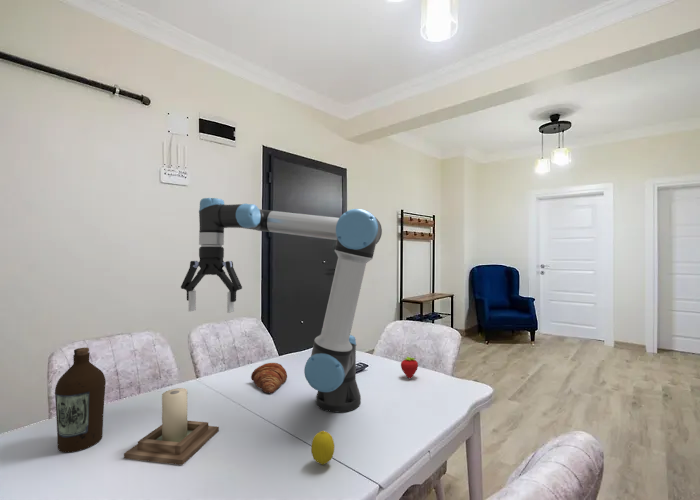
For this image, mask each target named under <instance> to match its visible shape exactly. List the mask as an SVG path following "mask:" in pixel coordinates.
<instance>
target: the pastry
mask: <svg viewBox="0 0 700 500" xmlns="http://www.w3.org/2000/svg"><path fill="white" fill-rule="evenodd" d="M250 375H251V376H250V378H251V380H252V381H253V382H254V384H255V386H256V387H257V388H259V389H260V390H262V392H263V393H266V394H271V395H272V394H274V393H276V391H277V390H279V389H280V387H281V386H282V385H284V384H285V383H286V381H287V380H288V379H287V378H288V374H287V371H286V368H284V367H283V365H282V364H280V363H278V362H267V363H264V364H262V365H259V366H258V367H256V368H255V369H254V370H253V371H252V372H251V374H250Z"/></svg>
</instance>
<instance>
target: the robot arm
mask: <svg viewBox="0 0 700 500" xmlns="http://www.w3.org/2000/svg"><path fill="white" fill-rule="evenodd" d="M198 213H199V214H198V216H199V217H198V220H199V233H198V245H199V248H198V257H199V261H198V260H191V261H190V262H189V268H188V271H187V272H186V274H185V277H184V279H183V281H182V283H181V286H180V289H182V290H185V291H186V301H188V312H193V311H196V309H197V304H196V303H197V301H196V300H197V294H196V293H197V290H195V288H196V287H197V286H198V285H199V283H200V282H201V280H202V279H203V278H204V277H205V276H209V275H210V276H217V277H219V279H220V281H222V283H223V284H224V286H225V287H226V288H227V289H228V290H229V291H227V292H226V293H227V295H226V297H227V299H226V300H227V302H226V304H227V307H226V308H227V311H226V312H227V313H228V314H230V313H233V312H235V310H234V309H235V308H234V306H235V302H236V301H237V291H239V290H242V289H243V286H242V283H241V282H240V279H239V277H238V274H237V272H236V270H235V268H234V262H233V260H227V261H224V258H225V248H224V243H225V241H224V240H225V229H229V228H230V229H232V228H233V229H246V230H251V231H252V230H253V231H259V232H268V233H269V232H271V233H278V234H283V235H284V234H285V235H286V234H288V235H294V236H302V237H311V238H317V239H325V240H326V239H327V240H334V241H336V242H335V246H334V253H335V254H336V256H337V260H336V265H335V269H334V275H333V279H332V283H331V287H330V294H329V297H328V302H327V306H326V310H325V315H324V319H323V324H322V328H321V332H320V334H319V335H317V336H316V337H315V338H314V341H313V344H312V345H313V346H312V350H311V353H310V354H311V355H310V357H308V359H307V360H306V363H305V365H304V370H303V371H304V377H305V380H306V382H307V383H308V385H309V386H310V387H311V388H312V389H314V390H316V391H317V392H316V395H315V404H316V406H317V407H318V408H319V409H320V410H323V411H326V412H331V413H346V412H350V411H353V410H355V409H358V407H360V405H361V402H362V398H361V392H360V390H359V386H358V383H357V378H356V377H357V375H356V371H357V369H356V368H357V367H356V364H357V361H356V359H357V358H356V357H357V355H356V353H357V342H356V340H357V339H356V337H355V336H354V335H352V334H351V333H352V328H353V324H354V318H355V314H356V310H357V306H358V301H359V297H360V294H361V293H360V292H361V289H362V283H363V279H364V274H365V271H366V266H367V264H368V263H369V262H370V261H372V260H373V257H374V254H375V250H376V247H377V244H378V243H379V242H380V240H381V238H382V234H383V229H382V224H381V223H380V221H379V220H378V218H377V217H376V216H375V215H374V214H373V213H371V212H370V211H369V210H365V209H363V208H352V209H348V210H347V211H345V212H343V213H342V215H340V217H334V216H325V215H316V214H315V215H314V214H305V213H298V212H297V213H295V212H293V213H292V212H288V211H286V212H285V211H277V210H268V209H260V208H258V205H256V204H254V203H242V204H241V203H239V204H236V203H235V204H225V201H224V200H223V199H222V198H217V197H216V198H215V197H204V198H202V199H201V200H200V201H199V209H198ZM198 268H199V270H198ZM223 268H225V269H226V271H225V270H224V269H223ZM197 270H198V271H197ZM226 272H227V273H226ZM195 274H196V275H195ZM227 274H228V275H227Z"/></svg>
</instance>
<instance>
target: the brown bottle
mask: <svg viewBox="0 0 700 500" xmlns="http://www.w3.org/2000/svg"><path fill="white" fill-rule="evenodd" d="M73 353H74V354H73V359H72V360H73V361H72V362H73V364H72V365H71V366H70V367H69V368H68V369H67V370H66V371H65V372H64V373H63V374H62V375H61V376H60V378H59V379H58V380H57V382H56V385H55V387H54V389H55V390H54V397H55V412H56V413H55V415H56V433H57V436H56V439H57V440H56V441H57V445H56V446H57V450H58V451H59V452H61V453H66V454H67V453H75V452H79V451H83V450H86V449H88V448H91V447H93V446H95V445H96V444H98V443H99V442H100V441H101V440H102V439H103V431H104V429H103V428H104V411H105V406H104V405H105V398H106V397H105V396H106V395H105V394H106V382H107V381H106V376H105V375H104V372H103V371H102V370H101V369H100V368H99V367H97V366H95V365H94V364H93V363H91V362H90V348H89V347H79V348H75V349H74V350H73Z"/></svg>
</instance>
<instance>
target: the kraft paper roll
mask: <svg viewBox="0 0 700 500" xmlns="http://www.w3.org/2000/svg"><path fill="white" fill-rule="evenodd" d="M187 421H188V389H187V388H183V387H180V388H178V387H177V388H172V389H168V390H166V391H164V392H163V393H162V394H161V425H162V441H171V442H180V441H181V440H183V439H184V438H185V437H186V436H187Z"/></svg>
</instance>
